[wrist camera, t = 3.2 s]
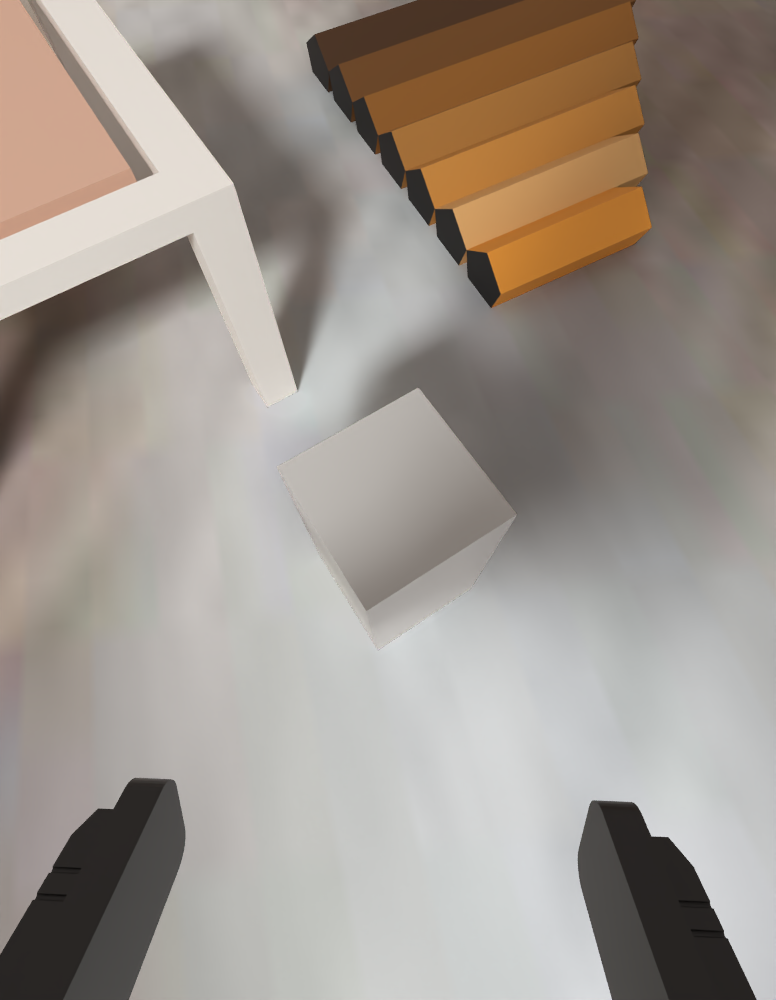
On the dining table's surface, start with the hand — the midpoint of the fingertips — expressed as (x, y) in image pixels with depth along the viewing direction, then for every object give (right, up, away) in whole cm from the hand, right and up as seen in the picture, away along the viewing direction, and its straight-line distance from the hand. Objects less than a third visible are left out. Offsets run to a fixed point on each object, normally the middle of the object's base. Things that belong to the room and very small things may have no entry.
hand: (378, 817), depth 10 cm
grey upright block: (+1, +3, +14) cm, 15 cm away
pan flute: (+11, +32, +26) cm, 43 cm away
